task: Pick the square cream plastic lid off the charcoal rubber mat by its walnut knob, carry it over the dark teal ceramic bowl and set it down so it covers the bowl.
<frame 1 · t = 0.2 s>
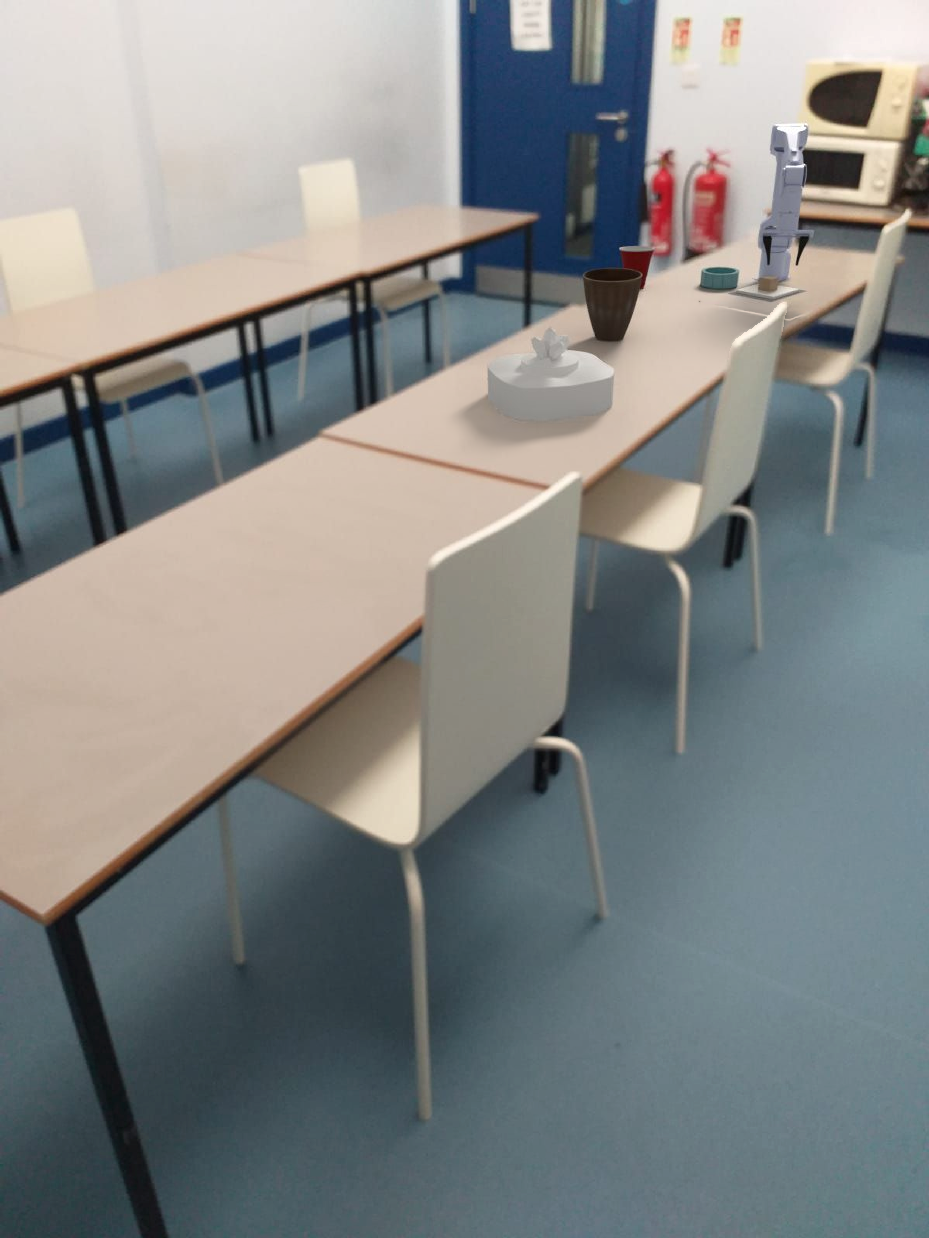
hand: (782, 265, 274), 10 cm above the table, tool pointing down, fingers open, 7 cm apart
tissue box: (549, 402, 213), on the table
lid: (767, 292, 288), resting on mat
plastic cup: (634, 287, 301), on the table
plant pot: (609, 338, 254), on the table
bowl: (718, 287, 298), on the table
mat: (767, 294, 289), on the table
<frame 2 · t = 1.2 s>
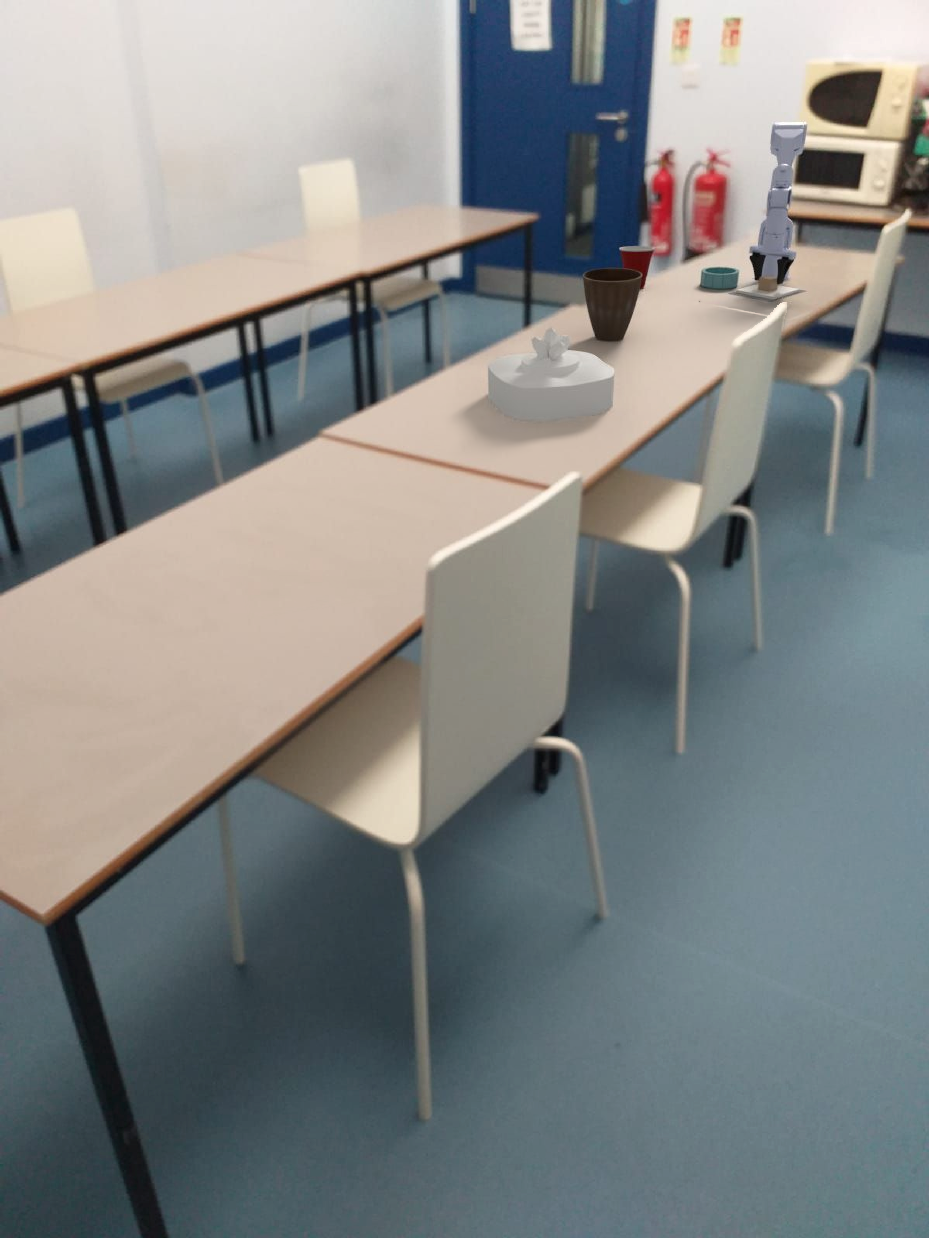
hand: (768, 281, 287), 4 cm above the table, tool pointing down, fingers open, 7 cm apart
nothing on the table moved.
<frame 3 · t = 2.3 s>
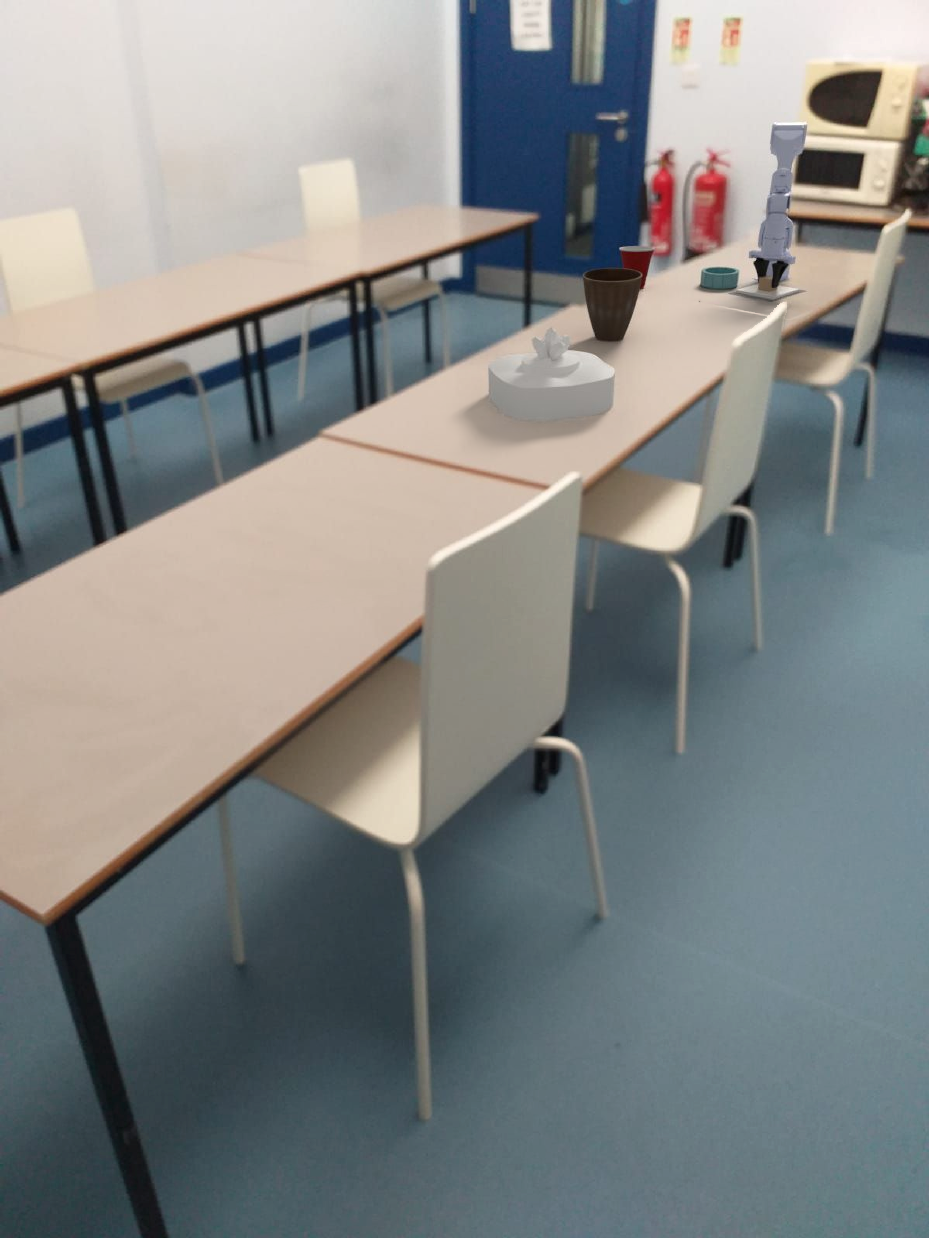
hand: (768, 286, 287), 2 cm above the table, tool pointing down, fingers closed on lid, 4 cm apart
lid: (767, 292, 288), resting on mat, touching gripper
everything else where it was.
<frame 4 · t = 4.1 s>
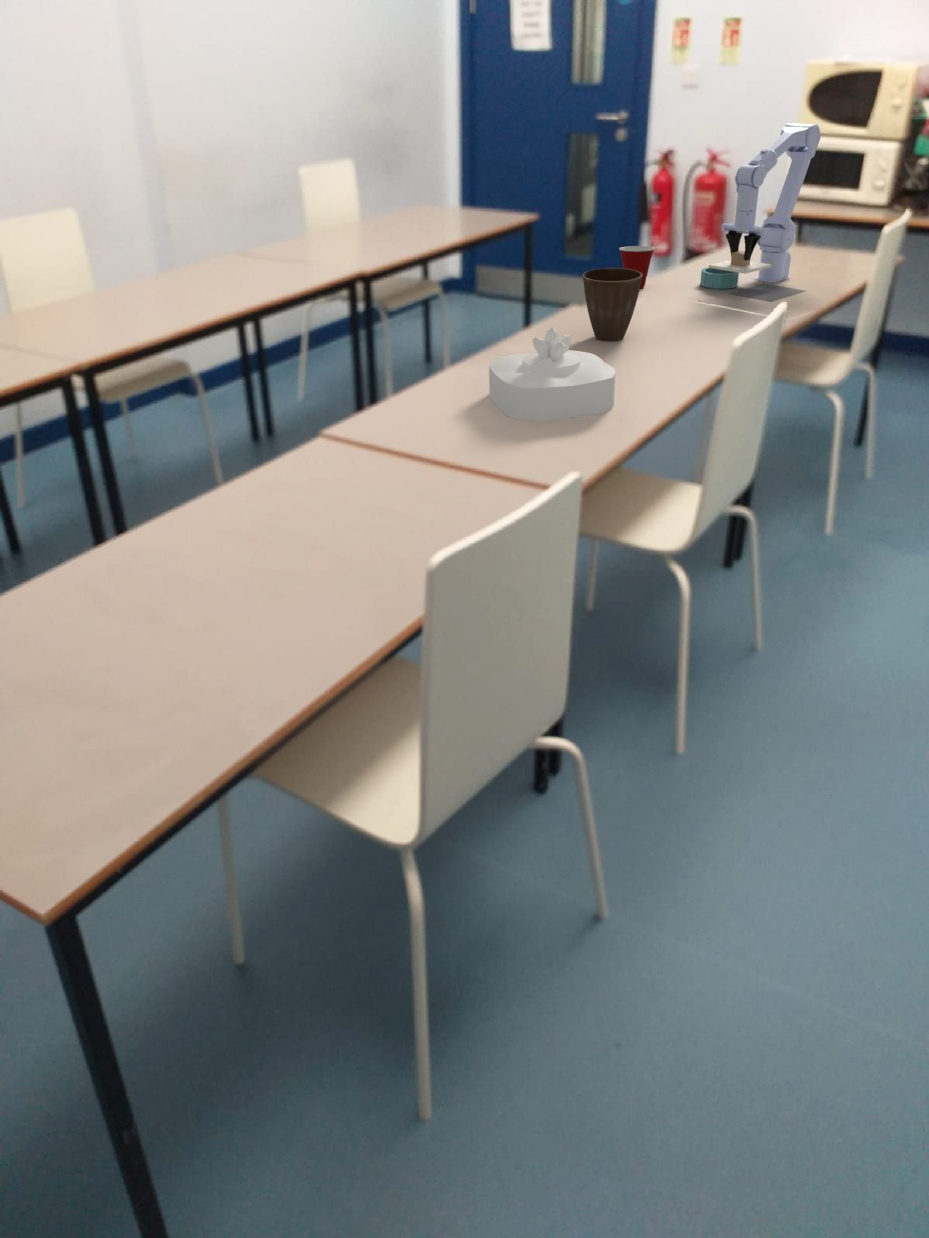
hand: (740, 259, 290), 9 cm above the table, tool pointing down, fingers closed on lid, 4 cm apart
lid: (739, 267, 291), point 6 cm above the table, touching gripper
everything else where it was.
when the fingers open (8 cm above the table, at t = 5.7 s): lid stays where it is, resting on bowl.
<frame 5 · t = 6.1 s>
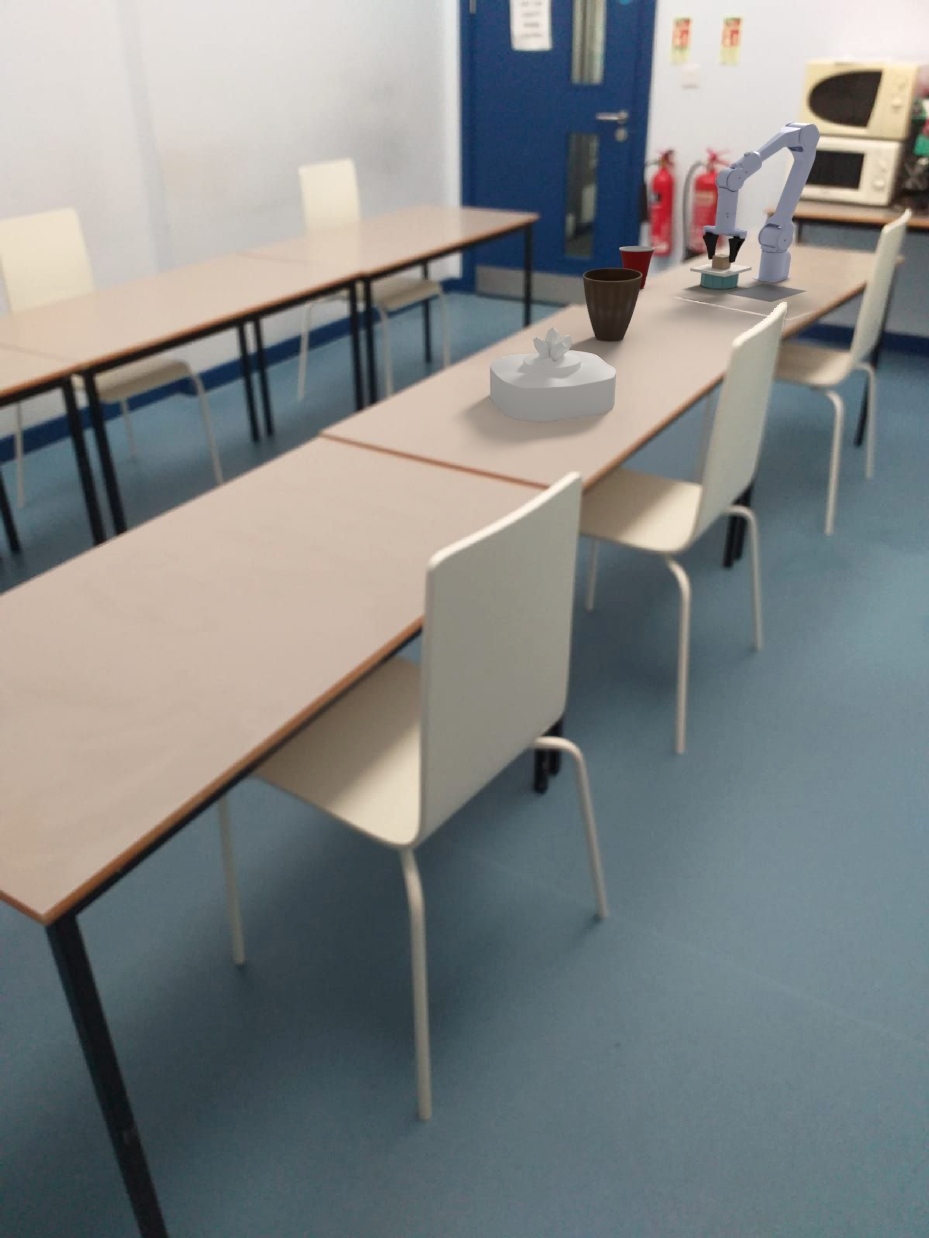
hand: (721, 260, 294), 8 cm above the table, tool pointing down, fingers open, 7 cm apart
lid: (720, 270, 296), point 5 cm above the table, touching bowl
bowl: (718, 287, 298), on the table, touching lid
everything else where it was.
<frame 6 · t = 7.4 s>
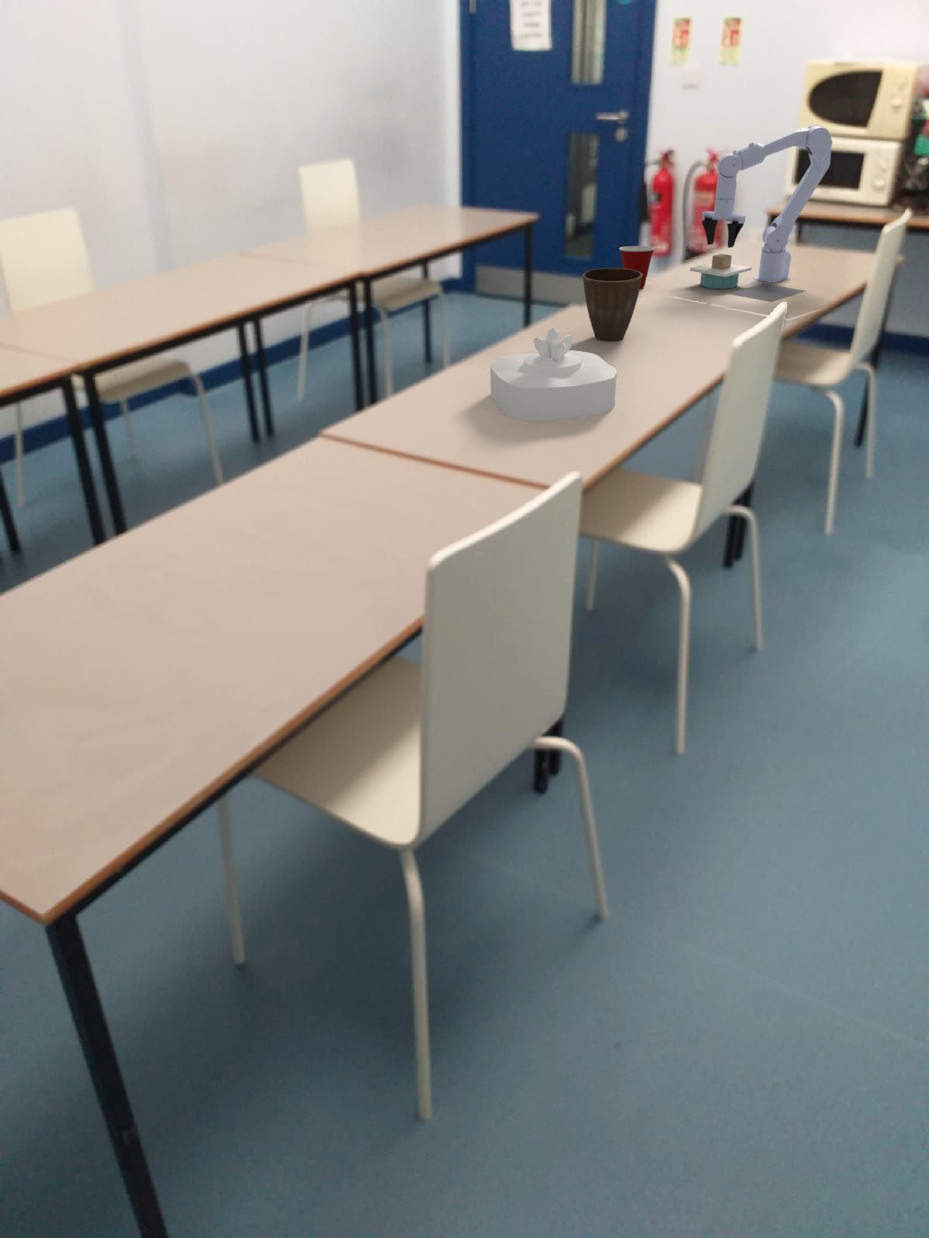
hand: (720, 245, 300), 10 cm above the table, tool pointing down, fingers open, 7 cm apart
lid: (720, 270, 296), point 5 cm above the table
bowl: (718, 287, 298), on the table
everything else where it was.
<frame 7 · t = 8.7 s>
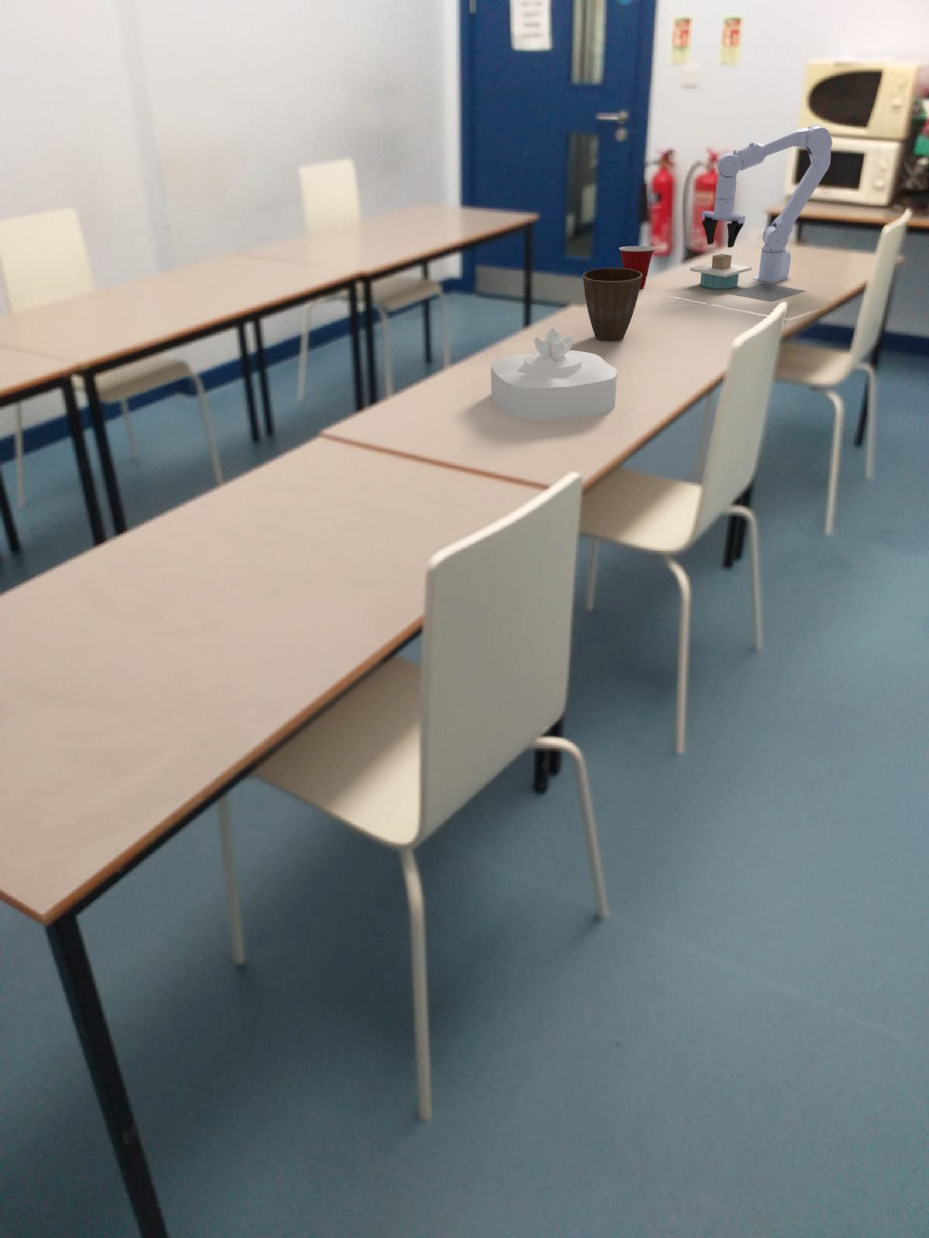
hand: (720, 245, 300), 10 cm above the table, tool pointing down, fingers open, 7 cm apart
lid: (720, 270, 296), point 5 cm above the table, touching bowl
bowl: (718, 287, 298), on the table, touching lid
everything else where it was.
at the end: lid 0.1 cm off-centre on the bowl, point 5.0 cm above the bowl's base; lid tilted 0°; the gripper is holding nothing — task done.
